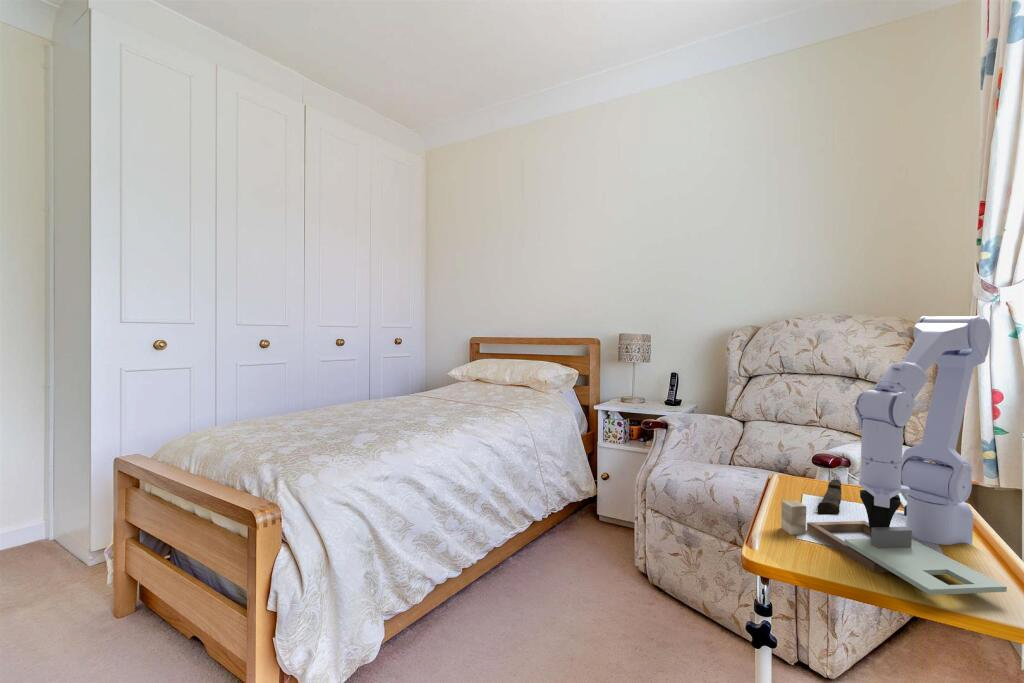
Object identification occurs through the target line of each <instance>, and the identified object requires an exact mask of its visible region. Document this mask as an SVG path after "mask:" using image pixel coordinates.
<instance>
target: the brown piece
mask: <svg viewBox="0 0 1024 683" xmlns="http://www.w3.org/2000/svg"><path fill="white" fill-rule="evenodd" d="M807 531H808V532H809V533H811V534H812V535H814V536H815V537H817V538H819V539H820V540H821V541H823V542H825V543H827V544H828V545H830V546H831V547H833V548H834V549H836V550H838V551H839V552H840V553H842V554H844V555H845V556H847V557H848V558H850V559H852V560H853V561H854V562H856V563H858V564H859V565H861V566H862V567H864V568H866V569H867V570H869V571H871V572H872V573H892V572H891V571H889V570H887V569H886V568H884V567H882V566H881V565H879V564H877V563H876V562H874V561H872V560H871V559H869V558H867V557H866V556H864V555H863V554H861V553H859V552H858V551H856V550H854V549H853V548H851V547H849V546H848V545H846V544H844V542H845V540H843V539H842V538H840V537H838V536H837V535H835V534H833V533H850V532H852V533H855V532H864V533H866V534H868V535H869V536H871V532H870V528H869V521H868V522H867V521H866V520H857V521H856V520H853V521H852V520H849V521H848V520H846V521H844V520H842V521H815V522H814V521H813V522H807V521H806V532H807Z"/></svg>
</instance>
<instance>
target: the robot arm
mask: <svg viewBox="0 0 1024 683" xmlns="http://www.w3.org/2000/svg"><path fill="white" fill-rule="evenodd" d="M991 339H992V331H991V325H990V323H989V321H988V319H986V318H985V316H983V315H975V316H929V315H923V316H921V317H919V318H918V319H917V321H916V322H915V323H914V327H913V340H914V342H913V344H912V345H911V347H910V348H909V350H908V352H907V354H906V355H905V357H904V358H903V360H902V361H899V362H895V363H893V364H892V365H890V366H889V368H888V369H887V370H886V371H885V373H883V375H882V376H881V378H880V379H879V381H878V382H877V383H876V384H875V385H874V386H873V388H872V389H866V390H865V391H862V392H860V393H859V395H858V396H857V398H856V401H855V404H854V406H853V407H854V413H855V416H856V418H857V428H858V429H859V430H860V431H861V443H860V444H861V446H860V471H859V472H860V474H859V476H860V478H859V479H858V485H859V486H860V487H861V488H862V489H859V496H860V500H861V501H862V503H863V506H864V508H865V511H866V515H867V520H868V523H869V528H870V532H871V529H872V527H891V526H890V525H891V522H892V519H893V517H894V516H895V513H896V512H897V510H898V509H899V508H900V506H901V504H902V502H901V498H900V495H899V494H901V492H903V493H905V494H907V501H906V505H907V516H906V517H905V518H906V520H905V521H906V525H905V527H906V528H908V529H910V530H912V538H915V539H917V540H921V541H923V542H926V543H932V544H934V545H935V544H936V545H943V546H945V545H946V546H948V545H955V544H964V543H965V544H968V545H970V546H973V539H974V538H973V533H974V531H973V530H974V515H973V511H972V509H971V508H970V506H969V504H967V503H966V501H967V500H968V499H969V498H970V495H971V492H972V487H973V482H972V481H973V480H972V474H973V467H972V465H971V464H970V463H969V461H968V460H967V459H965V458H964V457H963V456H962V455H961V454H960V453H959V452H957V450H956V449H957V445H958V441H959V435H960V431H961V427H962V422H963V417H964V413H965V408H966V404H967V400H968V396H969V392H970V386H971V382H972V377H973V373H974V369H975V367H976V366H979V365H981V364H984V363H985V362H986V358H987V356H988V353H989V348H990V344H991ZM934 363H935V364H936V365H937V367H938V370H937V373H936V379H935V383H934V387H933V391H932V396H931V400H930V404H929V409H928V413H927V418H926V422H925V427H924V431H923V435H922V439H921V443H919V444H916V445H914V446H911V447H908V448H906V449H905V450H904V452H903V438H904V436H903V435H904V426H906V425H907V424H908V423H910V420H911V418H912V414H913V409H914V407H915V404H916V402H915V399H916V397H917V396H918V395H919V393H920V392H921V391H922V389H923V387H924V386H925V385H926V384H927V382H928V376H927V374H926V371H927V370H929V369H930V367H932V366H933V364H934ZM936 463H937V464H936Z"/></svg>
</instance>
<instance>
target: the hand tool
mask: <svg viewBox="0 0 1024 683" xmlns="http://www.w3.org/2000/svg"><path fill="white" fill-rule="evenodd" d="M841 502H842V482H841V481H840V480H839V479H831V481H829V482H828V485H827V490H826V492H825V494H824V496H823V498H822V500H821V501H820V502H819V503H818V504H817V506H816V507H817V509H816V511H817V512H816V514H817V515H818V516H823V515H825V516H826V515H827V516H828V515H829V516H830V515H834V516H835V515H840V513H841V512H840V511H841V510H840V504H841Z"/></svg>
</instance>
